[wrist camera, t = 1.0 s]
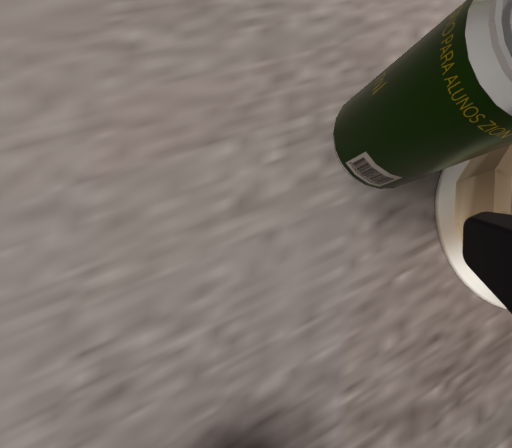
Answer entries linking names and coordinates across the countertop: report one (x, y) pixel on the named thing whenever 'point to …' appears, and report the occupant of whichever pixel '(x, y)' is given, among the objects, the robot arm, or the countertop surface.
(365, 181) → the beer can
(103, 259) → the countertop surface
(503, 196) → the can holder
